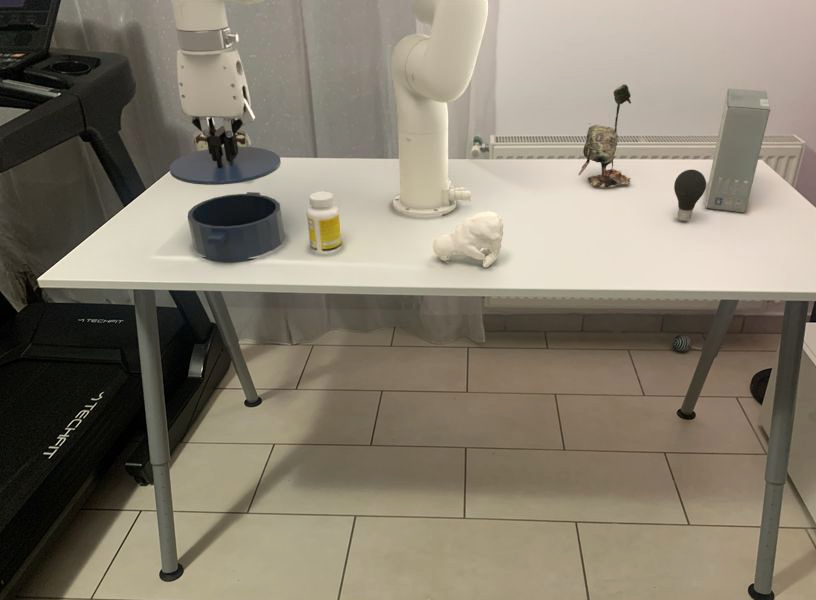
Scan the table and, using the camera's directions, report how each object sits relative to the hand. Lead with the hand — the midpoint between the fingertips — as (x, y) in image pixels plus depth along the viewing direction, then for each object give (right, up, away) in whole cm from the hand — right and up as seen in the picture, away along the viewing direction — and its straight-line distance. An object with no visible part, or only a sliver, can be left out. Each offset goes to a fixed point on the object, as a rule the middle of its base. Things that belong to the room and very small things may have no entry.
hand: (224, 158), depth 120 cm
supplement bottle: (+16, -14, +7) cm, 22 cm away
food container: (-10, +6, +38) cm, 40 cm away
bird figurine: (+71, +4, +34) cm, 79 cm away
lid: (0, -1, +1) cm, 1 cm away
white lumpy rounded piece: (+41, -17, +3) cm, 44 cm away
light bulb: (+82, -8, +17) cm, 84 cm away
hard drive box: (+94, -1, +27) cm, 98 cm away
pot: (0, -13, +9) cm, 16 cm away
